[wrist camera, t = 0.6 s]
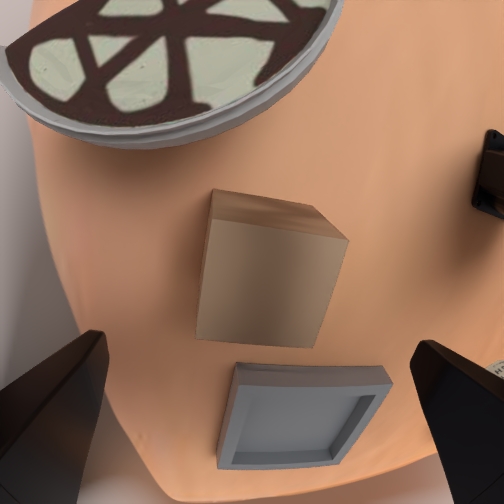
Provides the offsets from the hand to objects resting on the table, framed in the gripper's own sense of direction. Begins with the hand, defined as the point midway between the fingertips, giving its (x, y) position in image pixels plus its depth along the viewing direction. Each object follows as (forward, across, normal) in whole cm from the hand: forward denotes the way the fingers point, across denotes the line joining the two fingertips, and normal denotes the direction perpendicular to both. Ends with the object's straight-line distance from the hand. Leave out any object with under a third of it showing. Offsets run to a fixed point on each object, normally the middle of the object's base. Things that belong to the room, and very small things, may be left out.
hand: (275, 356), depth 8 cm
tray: (+12, -7, +18) cm, 23 cm away
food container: (+12, +4, -8) cm, 15 cm away
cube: (+12, -1, +2) cm, 12 cm away
